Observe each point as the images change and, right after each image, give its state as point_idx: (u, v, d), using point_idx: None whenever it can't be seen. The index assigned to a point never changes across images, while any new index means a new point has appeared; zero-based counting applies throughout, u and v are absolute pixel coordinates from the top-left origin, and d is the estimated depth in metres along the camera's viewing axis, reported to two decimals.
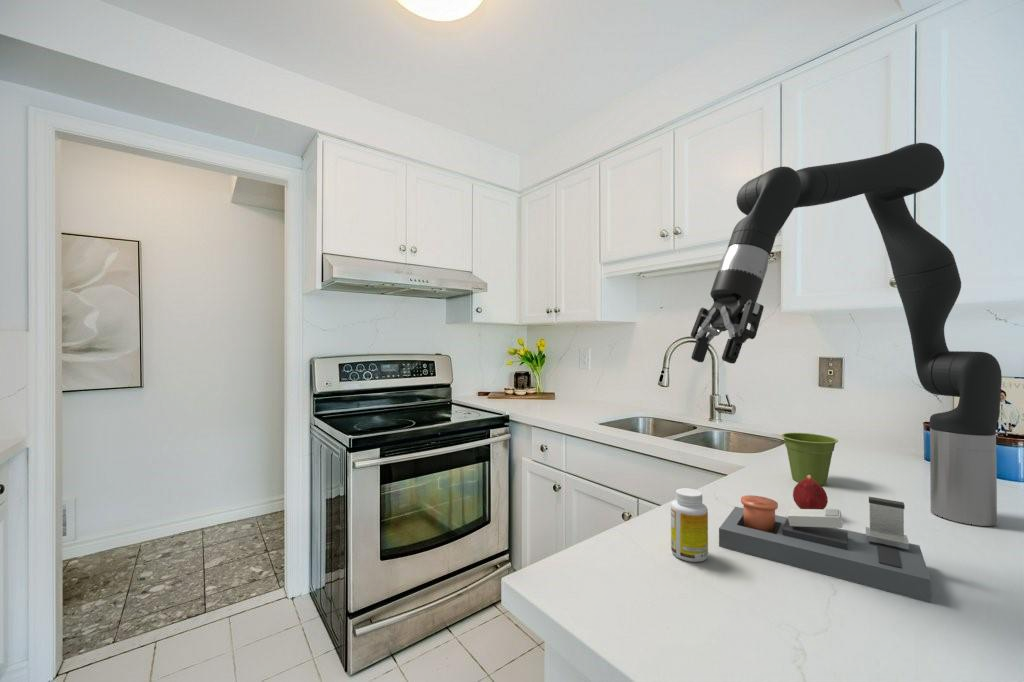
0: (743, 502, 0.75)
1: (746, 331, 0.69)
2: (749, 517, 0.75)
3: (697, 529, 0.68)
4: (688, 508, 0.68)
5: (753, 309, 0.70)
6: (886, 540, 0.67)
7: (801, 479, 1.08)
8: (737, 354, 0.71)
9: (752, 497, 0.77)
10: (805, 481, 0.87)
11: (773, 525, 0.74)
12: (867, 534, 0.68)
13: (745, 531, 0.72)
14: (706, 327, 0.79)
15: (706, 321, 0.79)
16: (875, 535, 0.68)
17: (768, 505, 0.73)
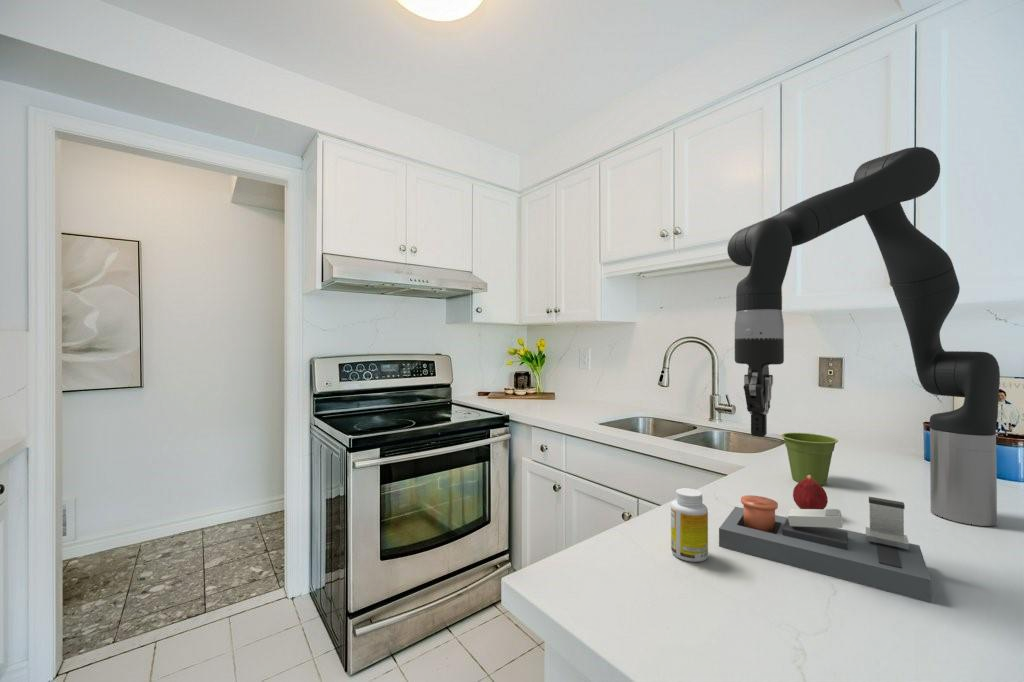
0: (743, 502, 0.75)
1: (751, 408, 0.74)
2: (749, 517, 0.75)
3: (697, 529, 0.68)
4: (689, 508, 0.68)
5: (749, 393, 0.72)
6: (886, 540, 0.67)
7: (801, 479, 1.08)
8: (760, 428, 0.74)
9: (752, 497, 0.77)
10: (805, 481, 0.87)
11: (773, 525, 0.74)
12: (867, 534, 0.68)
13: (745, 531, 0.72)
14: None
15: None
16: (875, 535, 0.68)
17: (768, 505, 0.73)
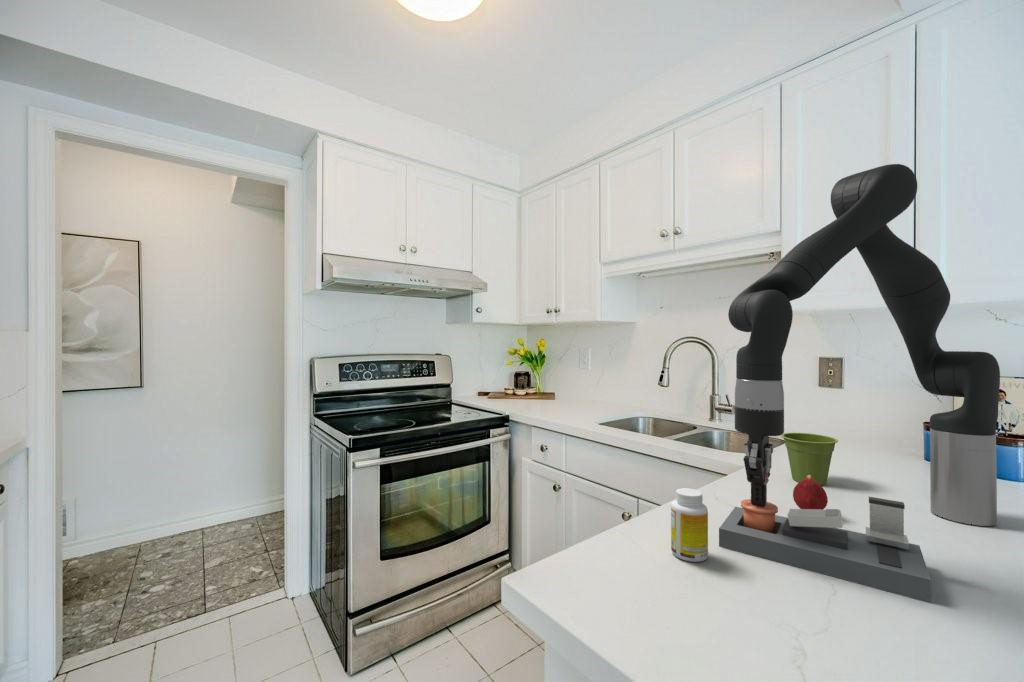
0: (743, 506, 0.75)
1: (751, 479, 0.73)
2: (749, 521, 0.75)
3: (697, 529, 0.68)
4: (689, 507, 0.68)
5: (749, 466, 0.72)
6: (886, 540, 0.67)
7: (801, 479, 1.08)
8: (760, 499, 0.74)
9: None
10: (805, 481, 0.87)
11: (773, 529, 0.74)
12: (867, 534, 0.68)
13: (745, 531, 0.72)
14: None
15: None
16: (875, 535, 0.68)
17: (768, 509, 0.73)
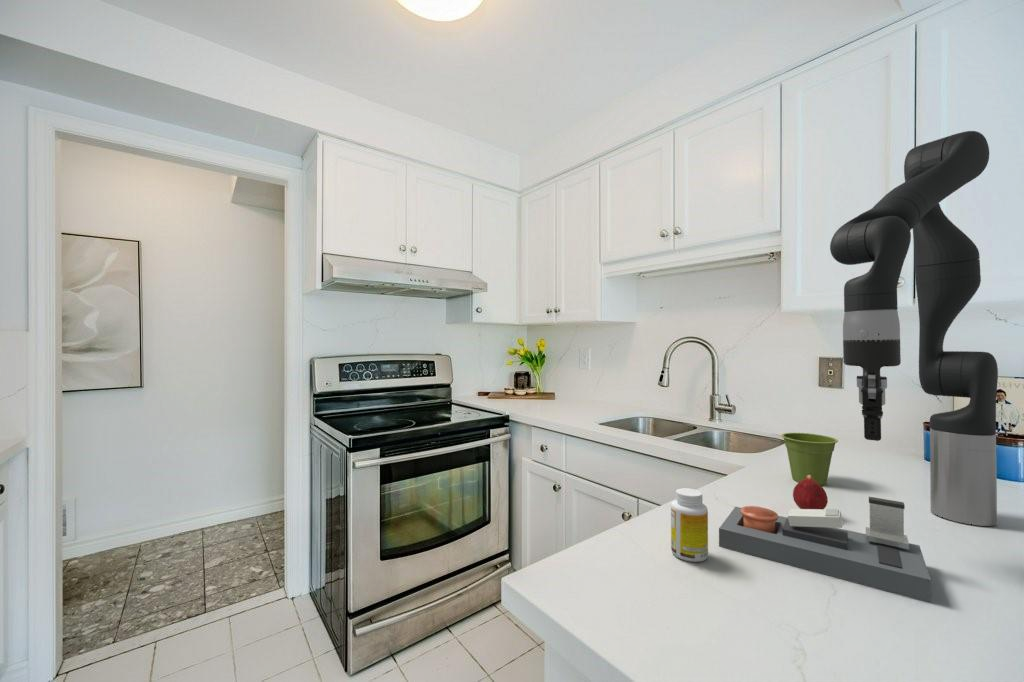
0: (743, 513, 0.75)
1: (867, 412, 0.72)
2: None
3: (697, 529, 0.68)
4: (688, 507, 0.68)
5: (868, 396, 0.70)
6: (886, 540, 0.67)
7: (801, 479, 1.08)
8: (876, 432, 0.72)
9: (752, 507, 0.77)
10: (805, 481, 0.87)
11: None
12: (867, 534, 0.68)
13: (745, 531, 0.72)
14: None
15: None
16: (875, 535, 0.68)
17: (768, 516, 0.73)
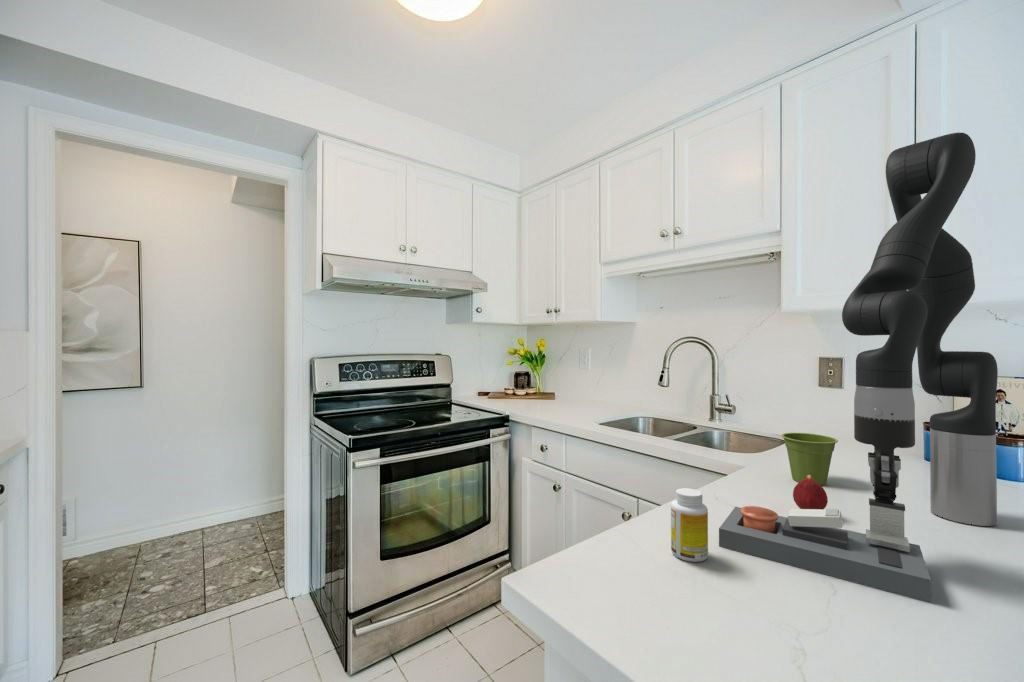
0: (743, 513, 0.75)
1: (880, 494, 0.68)
2: None
3: (697, 529, 0.68)
4: (689, 507, 0.69)
5: (881, 480, 0.66)
6: (886, 542, 0.66)
7: (801, 479, 1.08)
8: None
9: (752, 507, 0.77)
10: (805, 481, 0.87)
11: None
12: (867, 536, 0.68)
13: (745, 531, 0.72)
14: None
15: None
16: (876, 537, 0.67)
17: (768, 516, 0.73)
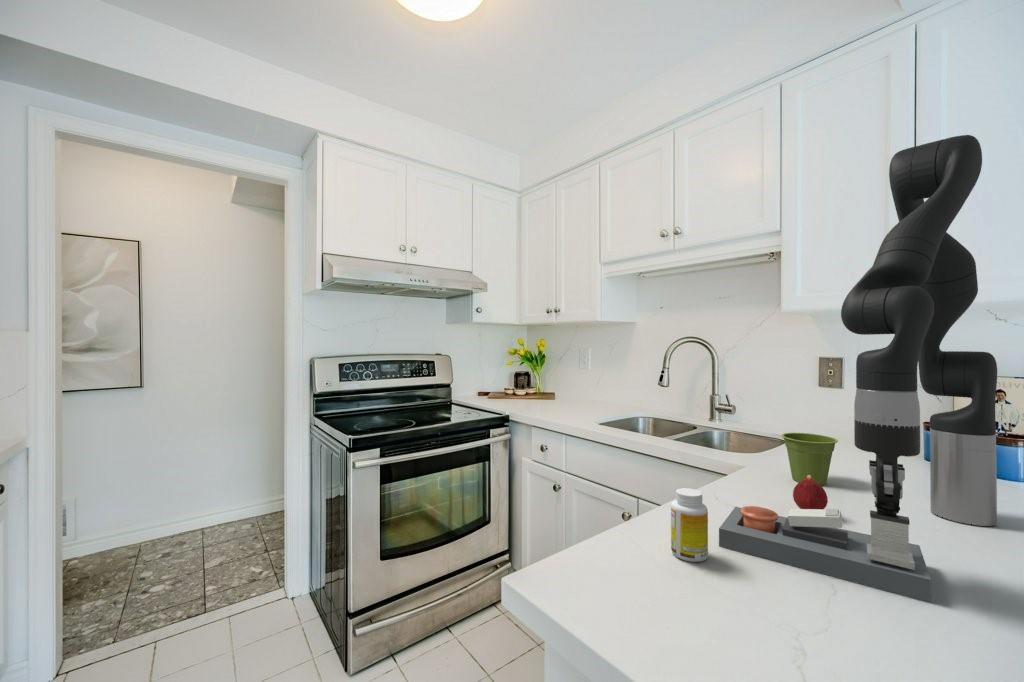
0: (743, 513, 0.75)
1: (882, 506, 0.63)
2: None
3: (697, 529, 0.68)
4: (689, 507, 0.69)
5: (883, 491, 0.61)
6: (889, 559, 0.61)
7: (801, 479, 1.08)
8: None
9: (752, 507, 0.77)
10: (805, 481, 0.87)
11: None
12: (868, 552, 0.62)
13: (745, 531, 0.72)
14: None
15: (871, 479, 0.67)
16: (877, 553, 0.62)
17: (768, 516, 0.73)
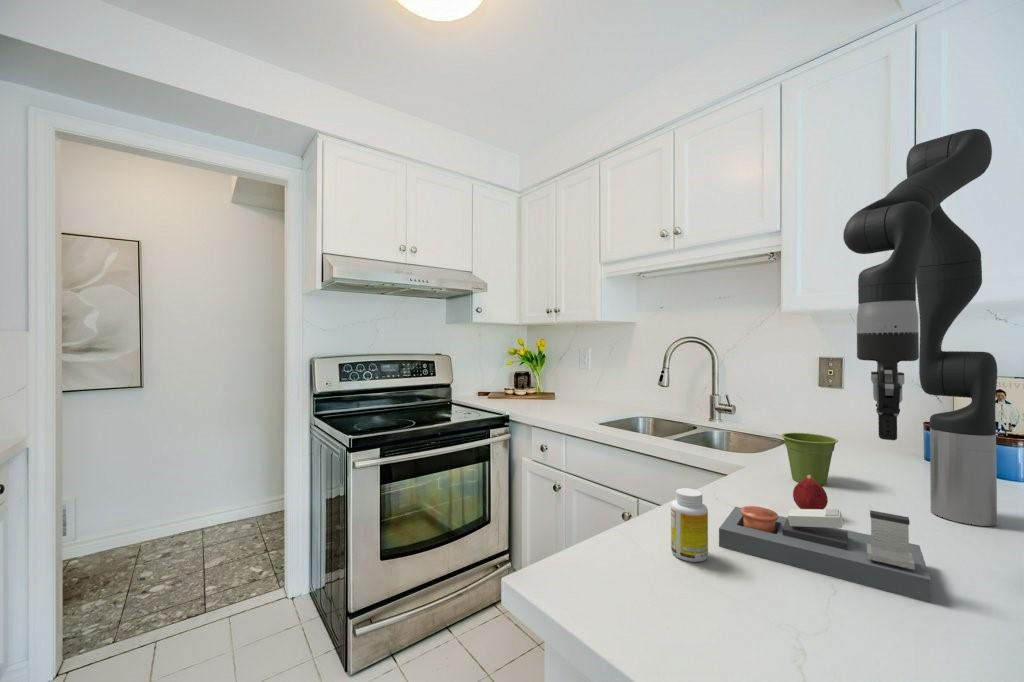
0: (743, 513, 0.75)
1: (883, 409, 0.67)
2: None
3: (697, 529, 0.68)
4: (688, 507, 0.68)
5: (884, 393, 0.66)
6: (889, 559, 0.61)
7: (801, 479, 1.08)
8: (892, 431, 0.68)
9: (752, 507, 0.77)
10: (805, 481, 0.87)
11: None
12: (868, 552, 0.62)
13: (745, 531, 0.72)
14: None
15: (873, 389, 0.71)
16: (877, 553, 0.62)
17: (768, 516, 0.73)
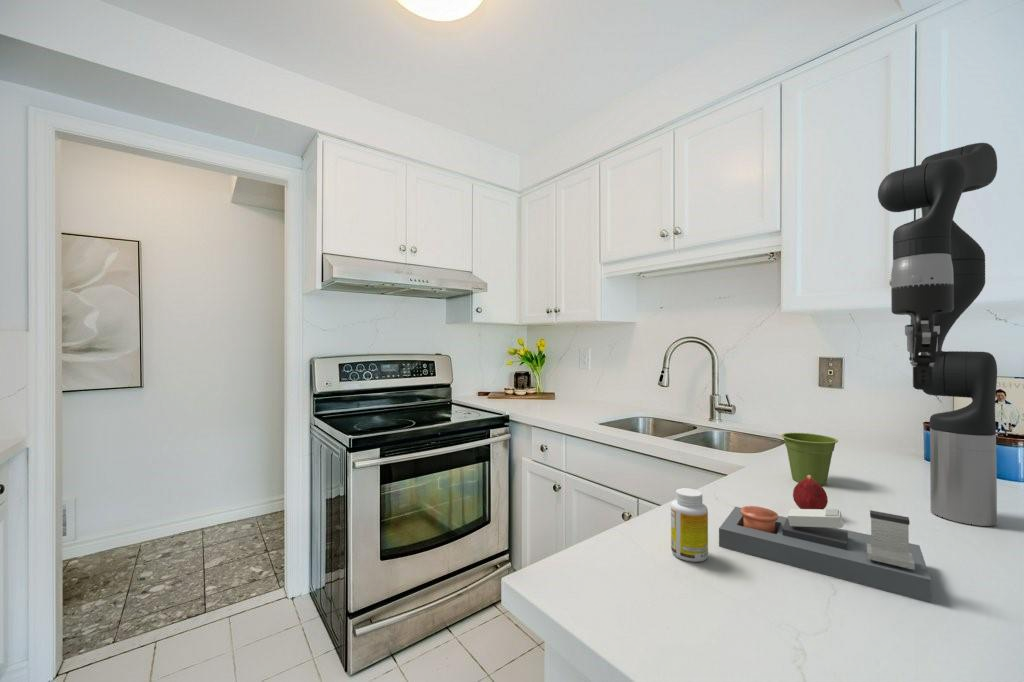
0: (743, 513, 0.75)
1: (919, 359, 0.70)
2: None
3: (697, 529, 0.68)
4: (689, 507, 0.68)
5: (921, 341, 0.68)
6: (889, 559, 0.61)
7: (801, 479, 1.08)
8: (927, 380, 0.70)
9: (752, 507, 0.77)
10: (805, 481, 0.87)
11: None
12: (868, 552, 0.62)
13: (745, 531, 0.72)
14: None
15: (907, 342, 0.74)
16: (877, 553, 0.62)
17: (768, 516, 0.73)
